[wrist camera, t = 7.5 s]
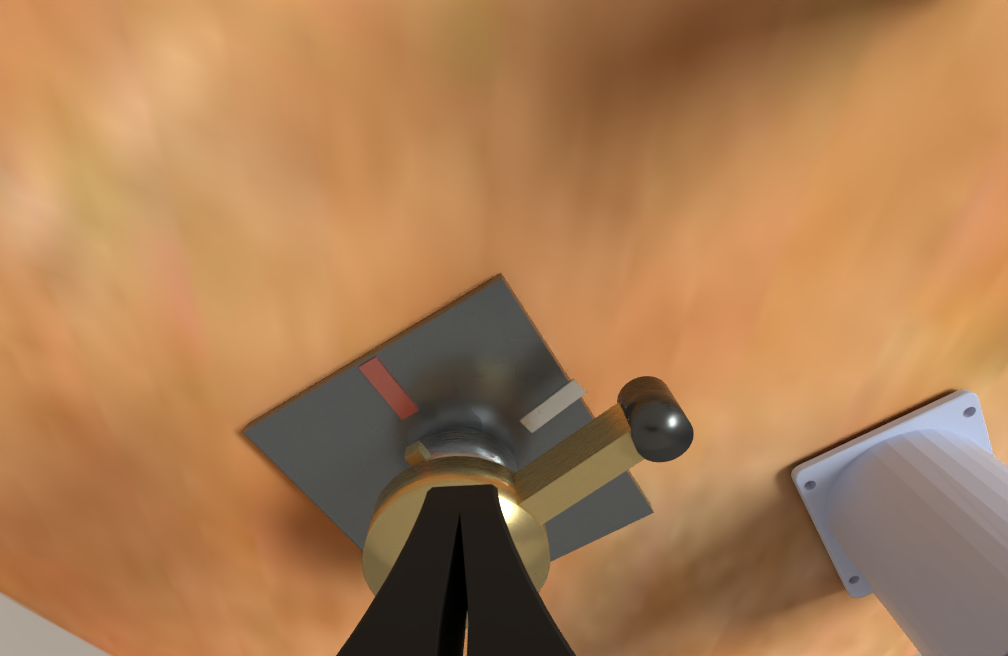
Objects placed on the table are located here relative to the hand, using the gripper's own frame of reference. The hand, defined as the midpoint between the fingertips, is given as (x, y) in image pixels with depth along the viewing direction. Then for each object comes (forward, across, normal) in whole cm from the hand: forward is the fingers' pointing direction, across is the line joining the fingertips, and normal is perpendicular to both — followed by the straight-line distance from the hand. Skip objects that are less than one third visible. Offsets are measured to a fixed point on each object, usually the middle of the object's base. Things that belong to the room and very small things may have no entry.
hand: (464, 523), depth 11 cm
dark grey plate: (+10, +1, +7) cm, 12 cm away
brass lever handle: (+7, -2, +5) cm, 9 cm away
